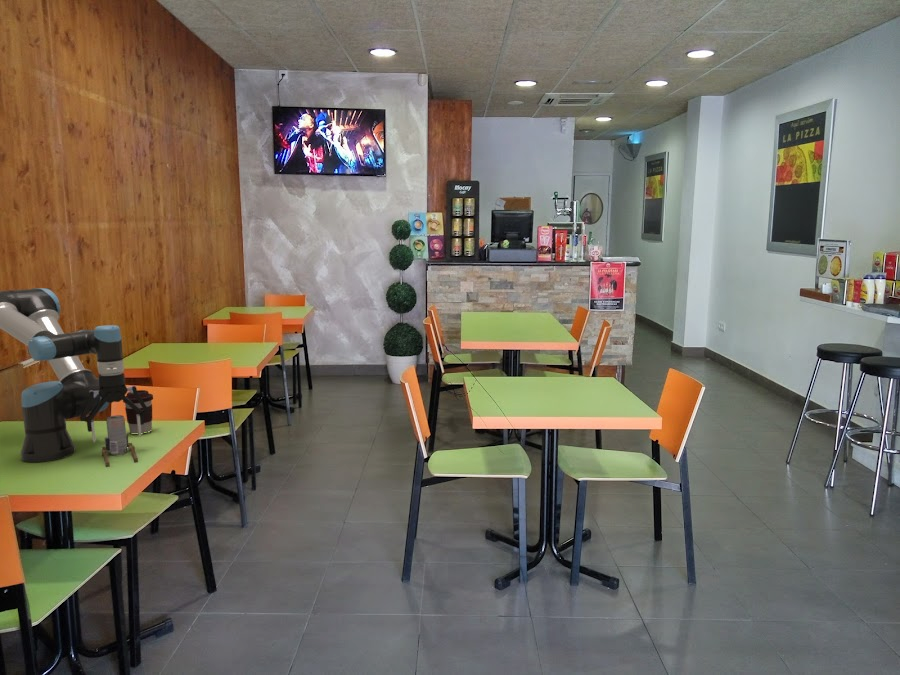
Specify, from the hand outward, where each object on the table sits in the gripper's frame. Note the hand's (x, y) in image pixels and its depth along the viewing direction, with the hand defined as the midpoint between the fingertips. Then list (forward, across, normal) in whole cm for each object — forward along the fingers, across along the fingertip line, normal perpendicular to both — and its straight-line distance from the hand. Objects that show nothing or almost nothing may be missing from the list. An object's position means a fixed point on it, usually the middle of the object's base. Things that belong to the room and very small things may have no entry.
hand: (117, 437), depth 227 cm
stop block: (+5, 0, +6) cm, 8 cm away
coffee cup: (+5, +9, +23) cm, 25 cm away
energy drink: (+5, 0, 0) cm, 5 cm away
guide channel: (+5, 0, -4) cm, 6 cm away
